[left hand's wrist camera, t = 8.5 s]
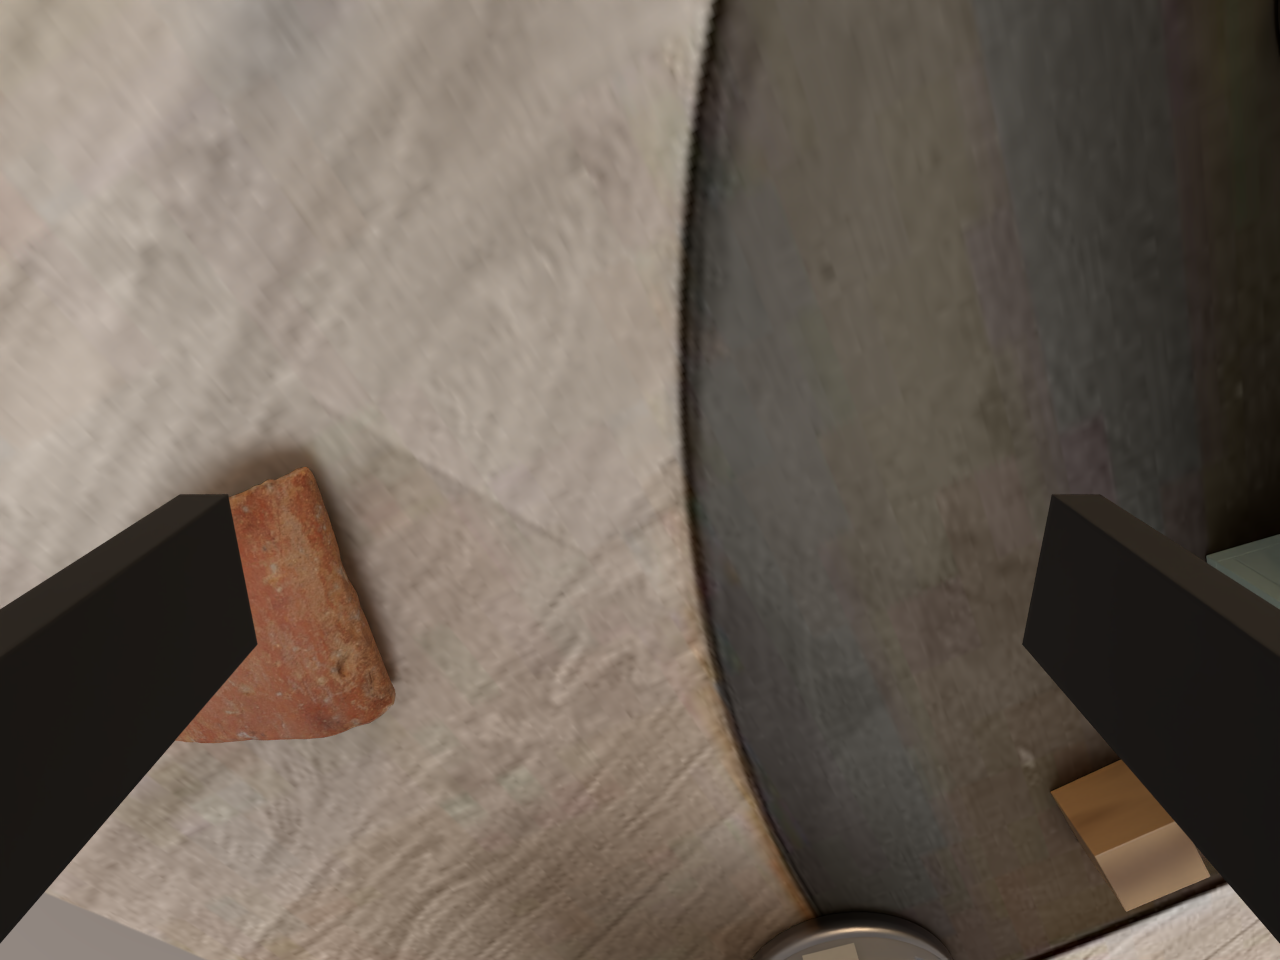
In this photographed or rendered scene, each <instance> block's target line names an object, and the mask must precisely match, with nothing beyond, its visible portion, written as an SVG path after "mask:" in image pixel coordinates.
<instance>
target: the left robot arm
mask: <svg viewBox="0 0 1280 960" xmlns="http://www.w3.org/2000/svg"><path fill="white" fill-rule="evenodd" d="M257 645H258V643H257V638H256V633H255V628H254V623H253V618H252V613H251V608H250V603H249V598H248V593H247V588H246V583H245V578H244V573H243V567H242V562H241V557H240V552H239V547H238V542H237V537H236V532H235V527H234V522H233V517H232V512H231V507H230V502H229V497H228V494H208V495H207V494H206V495H204V494H180V495H178V496H177V497H175V498H174V499H172V500H171V501H169V502H167V503H166V504H164V505H163V506H161V507H160V508H158V509H157V510H155V511H153V512H152V513H150V514H149V515H147V516H146V517H144V518H142V519H141V520H139V521H138V522H136V523H135V524H133V525H131V526H130V527H128V528H127V529H125V530H124V531H122V532H121V533H119V534H117V535H116V536H114V537H113V538H111V539H110V540H108V541H106V542H105V543H103V544H102V545H100V546H99V547H97V548H96V549H94V550H92V551H91V552H89V553H88V554H86V555H85V556H83V557H81V558H80V559H78V560H77V561H75V562H74V563H72V564H70V565H69V566H67V567H66V568H64V569H63V570H61V571H60V572H58V573H56V574H55V575H53V576H52V577H50V578H49V579H47V580H45V581H44V582H42V583H41V584H39V585H38V586H36V587H35V588H33V589H31V590H30V591H28V592H27V593H25V594H24V595H22V596H20V597H19V598H17V599H16V600H14V601H13V602H11V603H9V604H8V605H6V606H5V607H3V608H2V609H0V943H1V942H2V941H3V940H4V938H5V937H6V936H7V935H8V934H9V933H10V931H11V930H12V929H13V928H14V927H15V926H16V924H17V923H18V922H19V921H20V920H21V919H22V917H23V916H24V915H25V914H26V913H27V912H28V910H29V909H30V908H31V907H32V906H33V905H34V903H35V902H36V901H37V900H38V899H39V898H40V896H41V895H42V894H43V893H44V892H45V891H46V890H47V888H48V887H49V886H50V885H51V884H52V883H53V881H54V880H55V879H56V878H57V877H58V876H59V874H60V873H61V872H62V871H63V870H64V869H65V868H66V866H67V865H68V864H69V863H70V862H71V861H72V859H73V858H74V857H75V856H76V855H77V854H78V852H79V851H80V850H81V849H82V848H83V847H84V845H85V844H86V843H87V842H88V841H89V840H90V838H91V837H92V836H93V835H94V834H95V833H96V832H97V830H98V829H99V828H100V827H101V826H102V825H103V823H104V822H105V821H106V820H107V819H108V818H109V816H110V815H111V814H112V813H113V812H114V811H115V809H116V808H117V807H118V806H119V805H120V804H121V802H122V801H123V800H124V799H125V798H126V797H127V796H128V794H129V793H130V792H131V791H132V790H133V789H134V787H135V786H136V785H137V784H138V783H139V782H140V780H141V779H142V778H143V777H144V776H145V775H146V773H147V772H148V771H149V770H150V769H151V768H152V766H153V765H154V764H155V763H156V762H157V761H158V760H159V758H160V757H161V756H162V755H163V754H164V753H165V751H166V750H167V749H168V748H169V747H170V746H171V744H172V743H173V742H174V741H175V740H176V739H177V737H178V736H179V735H180V734H181V733H182V732H183V730H184V729H185V728H186V727H187V726H188V725H189V724H190V722H191V721H192V720H193V719H194V718H195V717H196V715H197V714H198V713H199V712H200V711H201V710H202V708H203V707H204V706H205V705H206V704H207V703H208V701H209V700H210V699H211V698H212V697H213V696H214V694H215V693H216V692H217V691H218V690H219V689H220V688H221V686H222V685H223V684H224V683H225V682H226V681H227V679H228V678H229V677H230V676H231V675H232V674H233V672H234V671H235V670H236V669H237V668H238V667H239V665H240V664H241V663H242V662H243V661H244V660H245V658H246V657H247V656H248V655H249V654H250V653H251V652H252V650H253V649H254V648H255V647H256V646H257ZM1022 645H1023V646H1024V647H1025V648H1026V649H1027V650H1028V652H1029V653H1030V654H1031V655H1032V656H1033V657H1034V658H1035V660H1036V661H1037V662H1038V663H1039V664H1040V665H1041V667H1042V668H1043V669H1044V670H1045V671H1046V672H1047V674H1048V675H1049V676H1050V677H1051V678H1052V679H1053V681H1054V682H1055V683H1056V684H1057V685H1058V686H1059V688H1060V689H1061V690H1062V691H1063V692H1064V693H1065V694H1066V696H1067V697H1068V698H1069V699H1070V700H1071V701H1072V703H1073V704H1074V705H1075V706H1076V707H1077V708H1078V710H1079V711H1080V712H1081V713H1082V714H1083V715H1084V717H1085V718H1086V719H1087V720H1088V721H1089V722H1090V724H1091V725H1092V726H1093V727H1094V728H1095V729H1096V730H1097V732H1098V733H1099V734H1100V735H1101V736H1102V737H1103V739H1104V740H1105V741H1106V742H1107V743H1108V744H1109V746H1110V747H1111V748H1112V749H1113V750H1114V751H1115V753H1116V754H1117V755H1118V756H1119V757H1120V758H1121V760H1122V761H1123V762H1124V763H1125V764H1126V765H1127V766H1128V768H1129V769H1130V770H1131V771H1132V772H1133V773H1134V775H1135V776H1136V777H1137V778H1138V779H1139V780H1140V782H1141V783H1142V784H1143V785H1144V786H1145V787H1146V789H1147V790H1148V791H1149V792H1150V793H1151V794H1152V796H1153V797H1154V798H1155V799H1156V800H1157V801H1158V802H1159V804H1160V805H1161V806H1162V807H1163V808H1164V809H1165V811H1166V812H1167V813H1168V814H1169V815H1170V816H1171V818H1172V819H1173V820H1174V821H1175V822H1176V823H1177V825H1178V826H1179V827H1180V828H1181V829H1182V830H1183V832H1184V833H1185V834H1186V835H1187V836H1188V837H1189V838H1190V840H1191V841H1192V842H1193V843H1194V844H1195V845H1196V847H1197V848H1198V849H1199V850H1200V851H1201V852H1202V854H1203V855H1204V856H1205V857H1206V858H1207V859H1208V861H1209V862H1210V863H1211V864H1212V865H1213V866H1214V868H1215V869H1216V870H1217V871H1218V872H1219V873H1220V874H1221V876H1222V877H1223V878H1224V879H1225V880H1226V881H1227V883H1228V884H1229V885H1230V886H1231V887H1232V888H1233V890H1234V891H1235V892H1236V893H1237V894H1238V895H1239V897H1240V898H1241V899H1242V900H1243V901H1244V902H1245V904H1246V905H1247V906H1248V907H1249V908H1250V909H1251V910H1252V912H1253V913H1254V914H1255V915H1256V916H1257V917H1258V919H1259V920H1260V921H1261V922H1262V923H1263V924H1264V926H1265V927H1266V928H1267V929H1268V930H1269V931H1270V933H1271V934H1272V935H1273V936H1274V937H1275V938H1276V940H1277V941H1278V942H1279V943H1280V609H1278V608H1277V607H1275V606H1274V605H1272V604H1271V603H1269V602H1267V601H1266V600H1264V599H1263V598H1261V597H1260V596H1258V595H1256V594H1255V593H1253V592H1252V591H1250V590H1249V589H1247V588H1245V587H1244V586H1242V585H1241V584H1239V583H1238V582H1236V581H1235V580H1233V579H1231V578H1230V577H1228V576H1227V575H1225V574H1224V573H1222V572H1220V571H1219V570H1217V569H1216V568H1214V567H1213V566H1211V565H1210V564H1208V563H1206V562H1205V561H1203V560H1202V559H1200V558H1199V557H1197V556H1195V555H1194V554H1192V553H1191V552H1189V551H1188V550H1186V549H1184V548H1183V547H1181V546H1180V545H1178V544H1177V543H1175V542H1174V541H1172V540H1170V539H1169V538H1167V537H1166V536H1164V535H1163V534H1161V533H1159V532H1158V531H1156V530H1155V529H1153V528H1152V527H1150V526H1149V525H1147V524H1145V523H1144V522H1142V521H1141V520H1139V519H1138V518H1136V517H1134V516H1133V515H1131V514H1130V513H1128V512H1127V511H1125V510H1123V509H1122V508H1120V507H1119V506H1117V505H1116V504H1114V503H1113V502H1111V501H1109V500H1108V499H1106V498H1105V497H1103V496H1102V495H1093V494H1070V495H1055V494H1052V497H1051V502H1050V507H1049V512H1048V517H1047V522H1046V527H1045V532H1044V537H1043V542H1042V547H1041V552H1040V557H1039V562H1038V567H1037V573H1036V578H1035V583H1034V588H1033V593H1032V598H1031V603H1030V608H1029V613H1028V618H1027V623H1026V628H1025V633H1024V638H1023V643H1022ZM752 960H953V958H952V956H951V954H950V953H949V951H948V950H947V948H946V947H945V946H944V945H943V943H942V942H941V941H940V940H939V939H938V938H936V937H935V936H934V935H933V934H932V933H930V932H929V931H927V930H926V929H924V928H922V927H920V926H918V925H916V924H915V923H912V922H910V921H907V920H905V919H901V918H898V917H895V916H890V915H886V914H879V913H869V912H849V913H838V914H832V915H827V916H822V917H818V918H815V919H811V920H808V921H805V922H803V923H800V924H798V925H796V926H794V927H791V928H789V929H787V930H786V931H784V932H782V933H781V934H779V935H777V936H776V937H775V938H773V939H772V940H770V941H769V942H768V943H767V944H766V945H764V946H763V947H762V948H761V949H760V950H759V951H758V952H757V953H756V955H755V956H754V957H753V959H752Z"/></svg>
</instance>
